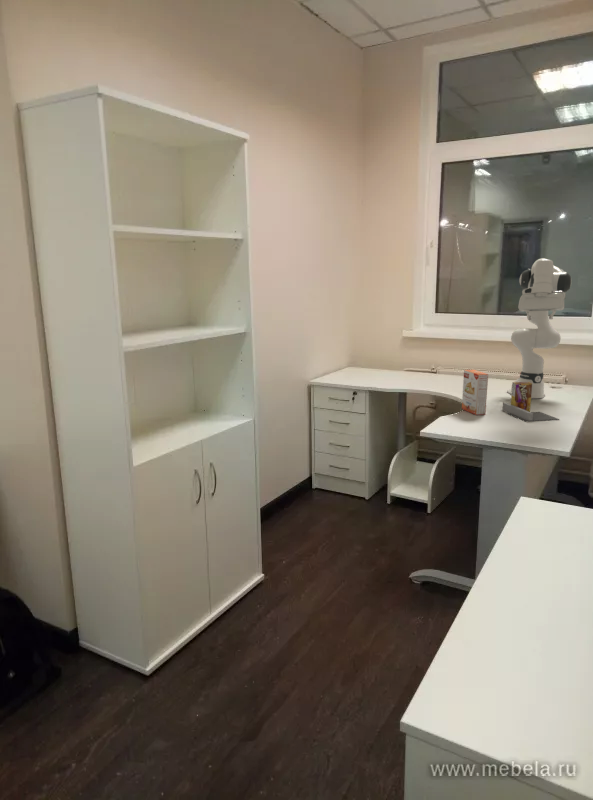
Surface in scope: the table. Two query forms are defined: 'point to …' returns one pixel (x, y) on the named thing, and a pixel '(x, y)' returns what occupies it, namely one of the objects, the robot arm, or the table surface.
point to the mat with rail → (526, 414)
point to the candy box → (521, 395)
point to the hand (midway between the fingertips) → (539, 319)
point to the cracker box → (474, 392)
